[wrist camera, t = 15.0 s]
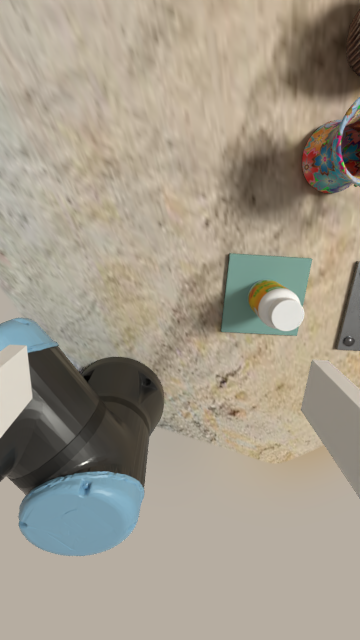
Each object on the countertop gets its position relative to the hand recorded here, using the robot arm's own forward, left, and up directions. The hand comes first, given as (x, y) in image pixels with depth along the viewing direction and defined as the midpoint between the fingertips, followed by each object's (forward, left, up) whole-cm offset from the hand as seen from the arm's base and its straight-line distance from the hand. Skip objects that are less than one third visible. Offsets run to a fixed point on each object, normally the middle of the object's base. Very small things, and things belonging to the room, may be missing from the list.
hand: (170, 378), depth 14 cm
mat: (-3, -14, -32) cm, 35 cm away
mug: (+15, -21, -32) cm, 41 cm away
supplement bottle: (-3, -14, -31) cm, 34 cm away
